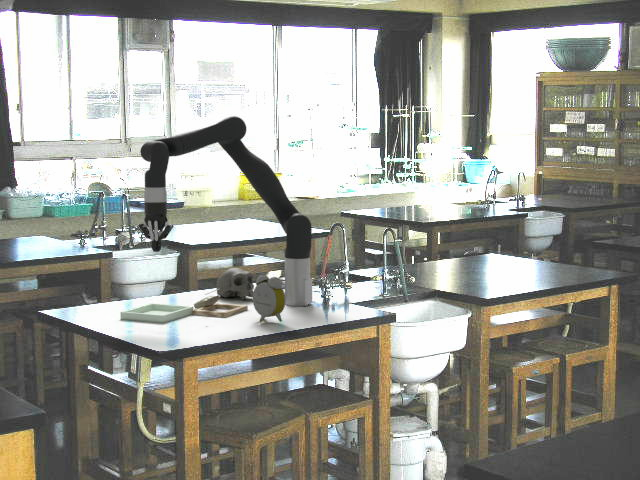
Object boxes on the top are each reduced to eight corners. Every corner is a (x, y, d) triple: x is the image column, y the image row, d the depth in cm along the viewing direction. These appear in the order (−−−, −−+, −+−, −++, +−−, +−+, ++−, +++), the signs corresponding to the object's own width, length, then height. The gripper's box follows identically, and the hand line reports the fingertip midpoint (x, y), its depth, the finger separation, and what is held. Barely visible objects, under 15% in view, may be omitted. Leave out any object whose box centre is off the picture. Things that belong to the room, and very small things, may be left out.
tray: (193, 313, 360) (193, 306, 360) (163, 323, 343) (163, 315, 343) (151, 310, 367) (151, 303, 367) (120, 319, 350) (120, 311, 350)
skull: (241, 303, 383) (241, 271, 382) (210, 297, 396) (209, 267, 394) (264, 299, 391) (264, 268, 390) (233, 294, 404) (232, 264, 403)
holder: (247, 309, 368) (247, 305, 368) (225, 317, 354) (225, 312, 353) (215, 307, 373) (215, 303, 373) (192, 314, 359) (192, 310, 359)
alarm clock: (286, 321, 345) (286, 277, 344) (271, 324, 341) (271, 279, 339) (263, 317, 354) (263, 273, 352) (248, 319, 349) (247, 275, 347)
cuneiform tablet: (206, 293, 361) (189, 299, 370) (211, 305, 361) (194, 311, 370) (222, 287, 365) (205, 292, 374) (227, 299, 365) (209, 304, 374)
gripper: (178, 200, 352) (179, 251, 354) (145, 199, 357) (146, 249, 359) (166, 201, 345) (167, 253, 347) (132, 200, 350) (133, 251, 352)
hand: (156, 251), depth 353 cm, fingers closed
